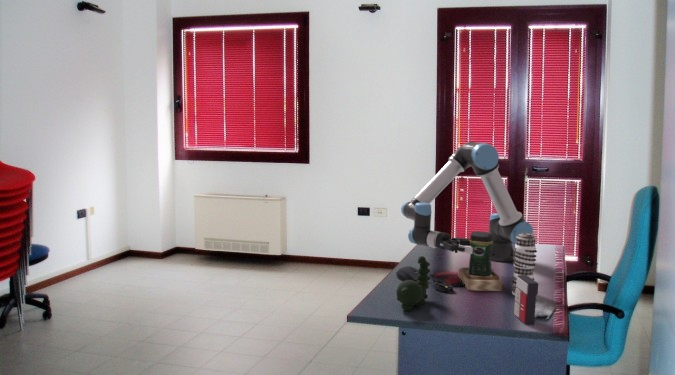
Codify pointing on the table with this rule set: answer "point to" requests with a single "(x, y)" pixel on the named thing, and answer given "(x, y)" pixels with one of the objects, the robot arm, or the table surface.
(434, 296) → the table surface
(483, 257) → the coffee jar
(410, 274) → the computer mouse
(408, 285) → the toy figurine
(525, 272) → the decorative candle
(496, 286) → the light brown wooden box
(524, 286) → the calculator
